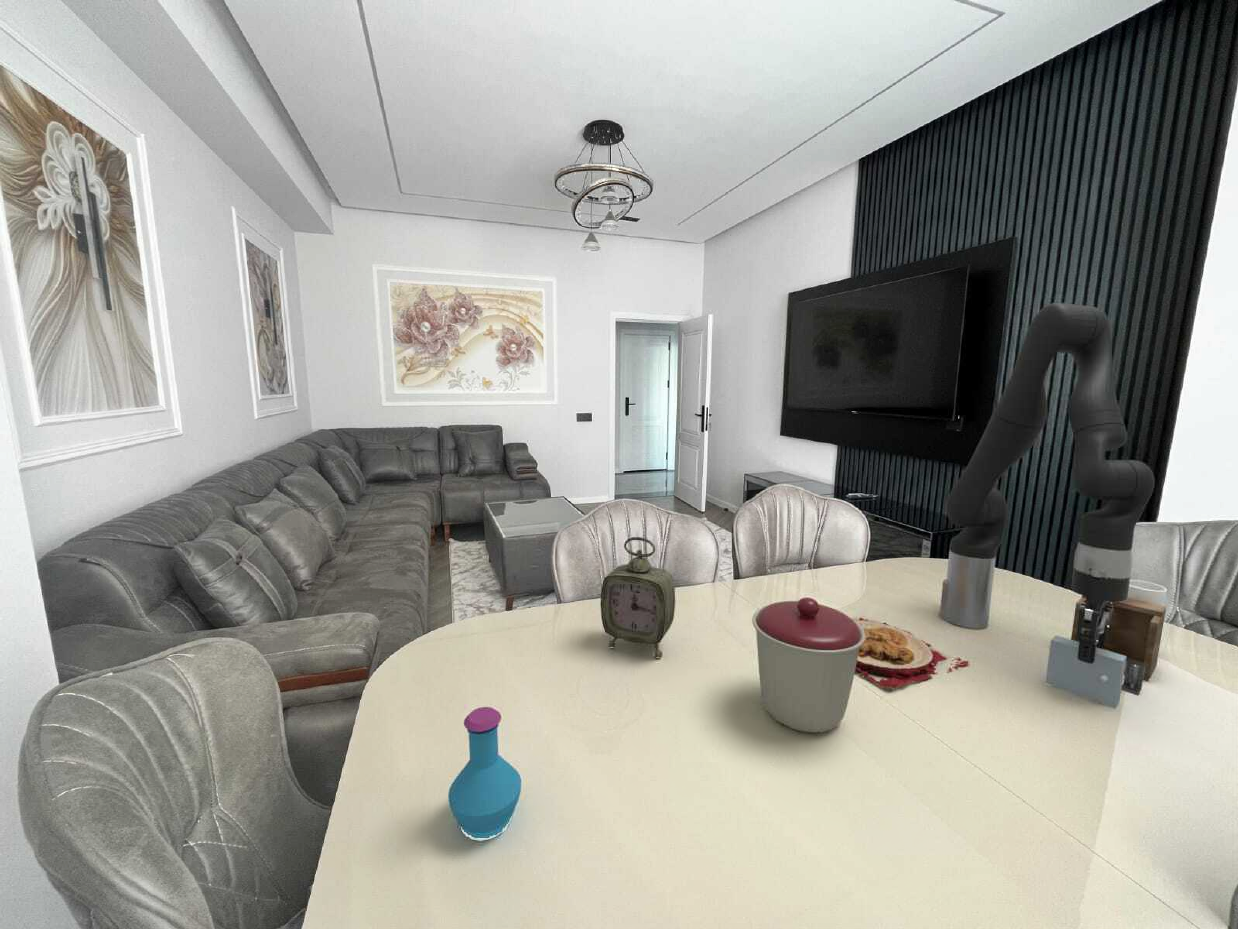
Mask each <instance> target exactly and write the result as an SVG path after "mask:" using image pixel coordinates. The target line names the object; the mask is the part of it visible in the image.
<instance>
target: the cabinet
mask: <svg viewBox="0 0 1238 929" xmlns="http://www.w3.org/2000/svg"><path fill="white" fill-rule="evenodd" d="M1084 600H1086V597H1085V596H1083V595H1081V597H1080V599H1078V601H1076V603H1075V610H1074V616H1073V623H1072V629H1071V637H1070V640H1073V641H1077V642H1079V640H1076V637H1075V636H1076V634H1077V626H1078V619H1079V609H1080V605H1081V603H1084ZM1113 607H1114V610H1113V613H1112V622H1111V623H1110V624H1109V628H1108V630H1107V633H1106V641H1105V647H1104V648H1103V649H1104V650H1107V651H1110V652H1114V653H1117V654H1120V655H1124V656H1127V657H1126V663H1125V670H1126V664H1127V660H1129V661H1132V662H1135V663H1139V664H1142V665H1145V671H1144V677H1143V682H1147V681H1148V682H1150V680H1149V679H1151V677H1152V675H1153V674H1154V672H1155V670H1156V667H1157V665H1158V658H1159V652H1160V647H1161V646H1160V645H1161V641H1162V635H1163V628H1164V622H1165V617H1166V610H1167V606H1166V605H1165V606H1161V605H1157V604H1152V603H1148V602H1144V601H1140V600H1135V599H1131V598H1127V599H1126V600H1124V601H1120V602H1113ZM1105 630H1106V629H1105ZM1089 634H1090V631H1089V630H1085V631H1084V635H1088V636H1089ZM1125 670H1124V675H1125Z"/></svg>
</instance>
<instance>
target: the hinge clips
mask: <svg viewBox="0 0 1238 929" xmlns="http://www.w3.org/2000/svg"><path fill="white" fill-rule="evenodd" d="M1144 671H1145V665H1142V664H1139V663H1135V662H1132V661H1129V660H1127V664H1126V670H1125V674H1124V676H1123V682H1122V689H1121V691H1125V692H1127V693H1130V694H1134V695H1136V696H1140V694H1141V692H1142V688H1143V684H1144V683H1143V682H1144V680H1143V677H1144ZM1140 691H1141V692H1140Z"/></svg>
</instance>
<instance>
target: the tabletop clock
mask: <svg viewBox="0 0 1238 929" xmlns="http://www.w3.org/2000/svg"><path fill="white" fill-rule="evenodd" d="M631 541H641V542H646V543H648V544H649V545H650V546H651V547H652V549H653V550H652V551H651V552H649V553H643V551H642V549H637V551H636V552H634V551H632V550H630V549H628V547H627V544H628V543H629V542H631ZM623 547H624V549H625V551H626V553H628V554H629V555H631V556H634V557H632V558H631V560H629V562H628V563H626V564H621V565H618V566H617V567H616V568H614V569H613V570H612V571H611V572H609V573H608V574H607V575H606V576H605V577H604V579H603V582H602V584H601V589H600V590H601V591H600V592H601V593H600V615H601V624H602V627H603V629H604V632H605V633H606V634H608V635H609V636H611V637H613V639H612V640H610V641H608V643H607V646H608V648H609V647H614V648H615V647H616V641H617V640H618V639H620V640H623V641H626V642H630V643H637V644H641V643H643V645H644V644H646V645H654V648H655V652H654V657H655V658H657V657H661V658H662V657H663V652H662V650H660V649H659V643H661V642H662V640H663V639H664V637H665V635H666V634H667V633H668V631H669V630H670V629H671V626H672V625H673V622H674V618H675V610H676V588H675V587H676V586H675V581H674V579H673V576H672V573H670V572H668V570H665V569H662V568H659V567H654V566H652V565H651V562H650V561H649V560H648V559H647V558H648V557H651V556H652V555H654V553H656V546H655V544H654V543H653V542H652V541H651V540H650V539H648V538H646V537H640V536H632V537H630V538H628V539H626V540H625V541H624V544H623Z"/></svg>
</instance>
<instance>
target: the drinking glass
mask: <svg viewBox="0 0 1238 929" xmlns="http://www.w3.org/2000/svg"><path fill="white" fill-rule="evenodd" d="M1167 595H1168V588H1166V586H1163V585H1160V584H1157V583H1154V582H1151V581H1146V580H1138V579H1130V582H1129V590H1128V597H1127V598H1131V599H1135V600H1140V601H1144V602H1148V603H1152V604H1157V605H1161V606H1165V607H1166V603H1167V598H1168V597H1167Z"/></svg>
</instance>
